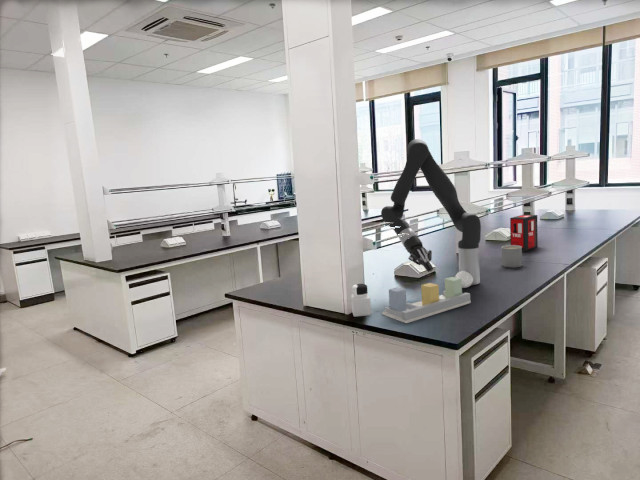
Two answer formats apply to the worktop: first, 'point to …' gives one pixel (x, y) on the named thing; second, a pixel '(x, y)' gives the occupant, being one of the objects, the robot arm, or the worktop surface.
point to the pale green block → (453, 287)
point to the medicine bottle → (360, 300)
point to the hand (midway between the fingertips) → (430, 270)
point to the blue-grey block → (397, 299)
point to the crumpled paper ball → (465, 278)
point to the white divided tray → (427, 308)
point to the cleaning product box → (524, 231)
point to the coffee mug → (511, 256)
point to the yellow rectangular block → (429, 293)
